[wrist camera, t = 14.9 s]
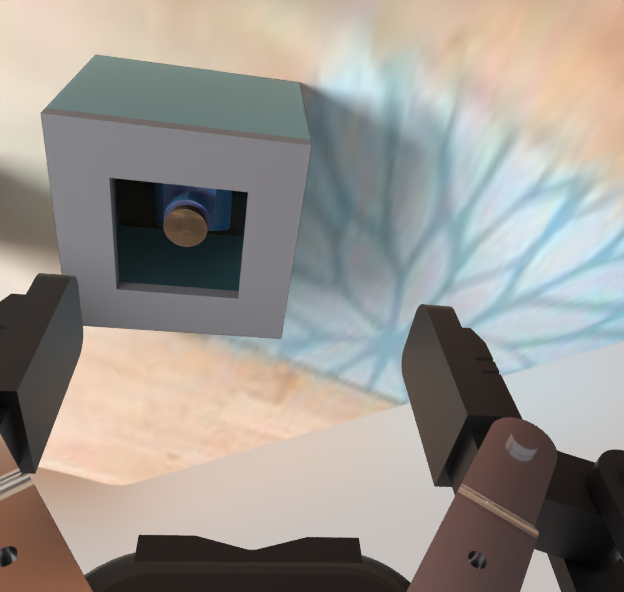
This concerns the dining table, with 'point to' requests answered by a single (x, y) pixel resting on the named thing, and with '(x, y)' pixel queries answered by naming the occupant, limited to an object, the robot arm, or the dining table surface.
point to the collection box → (180, 171)
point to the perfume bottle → (191, 211)
